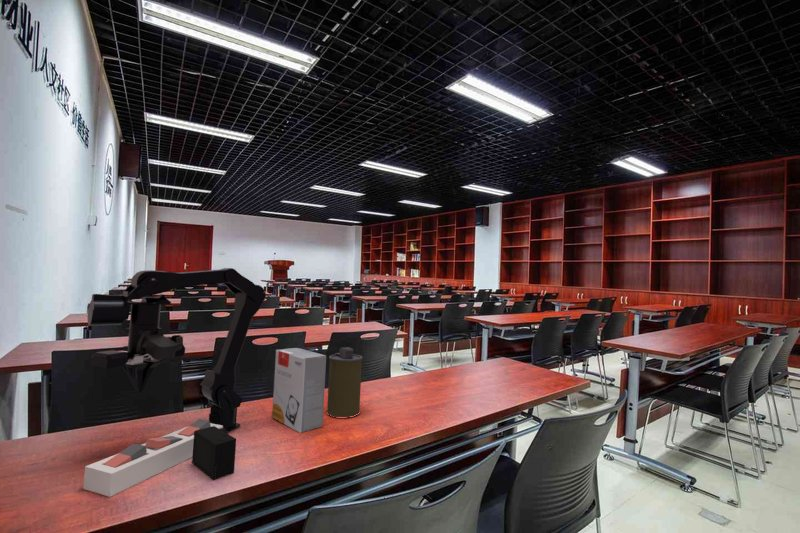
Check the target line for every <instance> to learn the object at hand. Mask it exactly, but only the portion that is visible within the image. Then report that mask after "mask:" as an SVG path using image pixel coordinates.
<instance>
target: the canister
mask: <svg viewBox="0 0 800 533" xmlns="http://www.w3.org/2000/svg"><path fill="white" fill-rule="evenodd" d="M328 358H329V365H328V368H329V369H328V385H327V386H328V387H327V404H326V405H327V406H326V407H327V408H326V412H328V414H329V415H331V416H334V417H350V416H354V415H356V414H358V413H359V410H360V409H361V408H360V406H361V387H362V385H361V384H362V383H361V382H362V366H363V365H362V363H363V361H362V360H363V358H364V357H363V356H362V355H360V354H355V353H354V349H353V348H352V347H349V346H348V347H346V346H345V347H339V351H338V352H334V353H333V354H331V355H329V357H328Z"/></svg>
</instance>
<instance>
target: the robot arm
mask: <svg viewBox="0 0 800 533" xmlns="http://www.w3.org/2000/svg"><path fill="white" fill-rule="evenodd" d="M213 284H215V285H217V284H223V285H225V287H227V289H228V290H229V291H230V293H232V294H234V295H235V297H234V306H233V307H234V315H233V317H232V320H231V324H230V327H229V330H228V332H227V335H226V338H225V341H224V343H223V346H222V349H221V352H220V355H219V358H218V360H217V363H216V365H215V366H214V367H213V368H212V369H211V370H210V369H206V370H205V373H204V377H203V379H202V381H201V382H200V386H201V392H202V394H203V396H204V398H206V399H207V400H208V402H209V403H210V404H212V406H210V412H209V414H208V421H210V423H212V424H217V425H222V426H223V428H226V430H227V432H228V433H229V432H231V431H233V430H235V429H237V428H240V427H241V423H237V413H238V412H237V411H238V408H240V406H241V403H242V401H243V397H241V396H240V395H239V394H237V392H235V387H236V386H235V385H236V366H237V363H238V360H239V357H240V354H241V351H242V349H243V346H244V343H245V341H246V337H247V334H248V331H249V328H250V325H251V323H252V321H253V320H252V319H253V318H254V316H255V315H256V314H257V313H258V311H260V309H261V307H262V305H263V304H264V301H265V300H266V297H267V293H266V290H265V288H264V287H263V286H262V285H258V284H255V283H254V282H253V281H252V280H250V279H248V278H246V277H245V276H244V275H242V274H241V273H239V272H238V271H237V269H235V268H232V267H223V268H220V269H210V270H200V271H199V270H196V271H183V272H182V271H181V272H174V271H164V270H155V269H154V270H149V269H147V270H140V271H137V272H136V273H135V274H134V275H133V276H132V278H131V280H130V284H129V286H127V287H126V288H125V289H124V290H123V291H122V292H121V293H120V294H102V293H93V294H92V295H91V300H90V303H89V306H88V307H89V308H87V316H86V317H87V326H89V327H90V326H121V325H122V324H123V322H126V321H127V320H129V327H125V328H124V333H125V334H128V341H127V345H124V346H123V348H122V349H123V350H122V351H119V350H113V349H112V350H103V351H96V352H94V354H92V356H91V357H90V360H89V361H90V363H89V366H90V367H98V368H101V369H102V368H103V369H113V368H114V369H115V368H120V367H122V368H123V370H124V372H125V373H126V375H127V376H128V378H129V380H130V382H131V384H132V386H133V389H134V391H135V392H136V393H142V392H143V391H144V389H145V388H146V384H147V383H148V381H149V378H150V376H151V374H152V373H153V371H154V369H155V368H156V367H158V365H160V364H162V363H164V362H165V360H164V359H167V358H169V359H172V358H174V357H175V358H176V357H177V358H178V357H182V356H186V347H185V345H184V337H183V336H182V335H181V334H175V335H172V336H165V335H164V332H165V331H164V328H163V327H160V320H161V319H160V318H161V309H162V308H161V306H162V305H171V304H172V301H170V300H169V299H168V298H167V297H166V296H165V294H162V293H167V292H170V291H173V290H176V289H179V288H183V287H184V288H186V287H195V286H196V287H197V286H205V285H207V286H208V285H213ZM154 295H158V296H156V297H146V296H154ZM139 299H141V301H128V300H139ZM130 306H131V308H130ZM129 318H130V319H129Z"/></svg>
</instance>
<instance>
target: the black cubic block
mask: <svg viewBox="0 0 800 533" xmlns="http://www.w3.org/2000/svg"><path fill="white" fill-rule="evenodd" d="M236 449H237V438H236V437H233V435H230V434H229V432H227V430H226V428H220V429H219V428H217V427H215V426H212V427H208V428H204V429H200V430H196V431H194V442H193V456H192V457H191V464H192V465H193V466H195V467H196V468H197V469H199V470H200V471H201V472H202V473H204V474H205V476H207V477H208V478H210V479H211V480H212V481H216V480H218V479H221V478H224V477H226V476H229V475H233V474H234V473H235V466H236V465H235V464H236V452H237V451H236Z"/></svg>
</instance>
